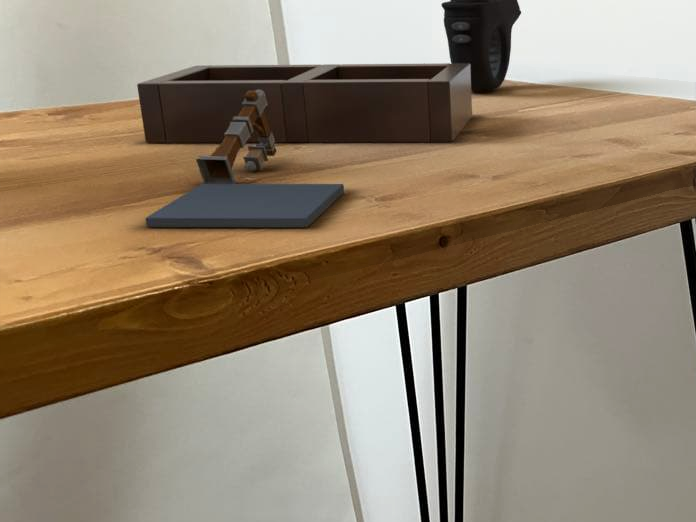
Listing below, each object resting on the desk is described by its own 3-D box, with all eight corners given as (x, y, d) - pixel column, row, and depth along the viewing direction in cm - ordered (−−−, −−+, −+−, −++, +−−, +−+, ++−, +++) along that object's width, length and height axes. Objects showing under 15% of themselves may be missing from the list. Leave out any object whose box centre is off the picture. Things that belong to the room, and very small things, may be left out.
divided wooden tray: (145, 143, 77) (136, 83, 76) (202, 118, 88) (195, 65, 86) (452, 141, 76) (449, 81, 74) (472, 116, 86) (470, 63, 85)
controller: (439, 98, 96) (433, -25, 93) (484, 81, 107) (480, -30, 103) (486, 99, 95) (482, -26, 91) (526, 82, 106) (524, -30, 102)
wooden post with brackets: (290, 144, 70) (271, 80, 67) (247, 222, 65) (224, 156, 62) (263, 143, 71) (243, 79, 67) (218, 221, 65) (194, 155, 62)
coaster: (146, 227, 54) (144, 217, 54) (202, 192, 62) (201, 183, 61) (307, 227, 54) (306, 217, 54) (344, 192, 61) (343, 183, 61)
